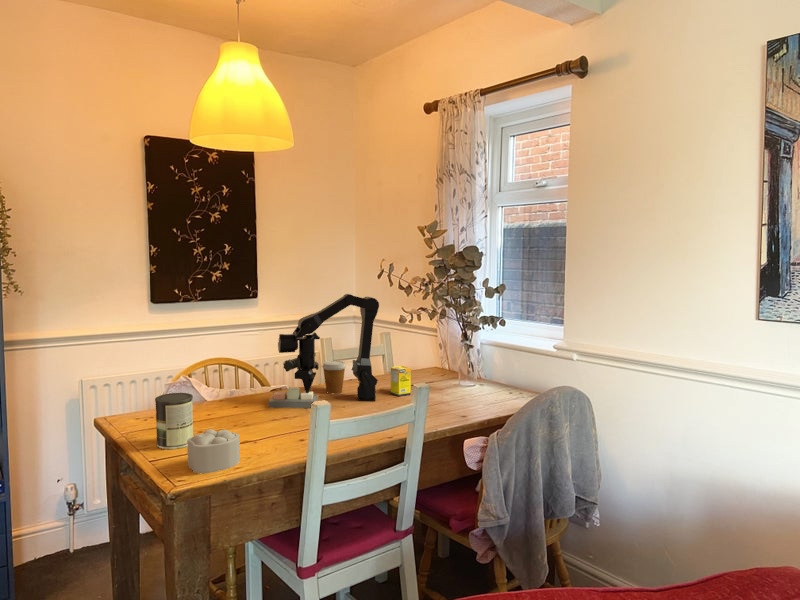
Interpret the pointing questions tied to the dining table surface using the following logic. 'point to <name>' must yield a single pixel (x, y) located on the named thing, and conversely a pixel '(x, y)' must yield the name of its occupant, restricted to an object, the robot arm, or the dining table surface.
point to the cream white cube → (307, 396)
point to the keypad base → (291, 403)
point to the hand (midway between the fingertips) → (307, 392)
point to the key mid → (293, 393)
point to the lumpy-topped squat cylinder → (213, 451)
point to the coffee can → (174, 420)
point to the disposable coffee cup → (334, 376)
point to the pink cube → (280, 395)
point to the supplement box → (400, 380)
